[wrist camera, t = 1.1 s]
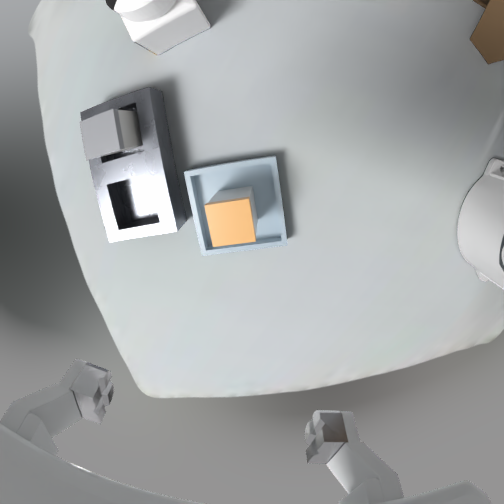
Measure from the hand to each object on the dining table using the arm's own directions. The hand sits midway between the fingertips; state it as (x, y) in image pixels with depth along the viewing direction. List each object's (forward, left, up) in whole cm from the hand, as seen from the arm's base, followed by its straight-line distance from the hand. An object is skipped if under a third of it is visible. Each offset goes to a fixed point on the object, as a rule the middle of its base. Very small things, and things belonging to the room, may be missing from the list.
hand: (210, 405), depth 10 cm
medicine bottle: (+5, -25, -27) cm, 37 cm away
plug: (+1, -1, -26) cm, 26 cm away
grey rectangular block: (+12, -12, -26) cm, 31 cm away
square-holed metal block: (+12, -8, -27) cm, 30 cm away
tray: (+1, -1, -27) cm, 27 cm away
